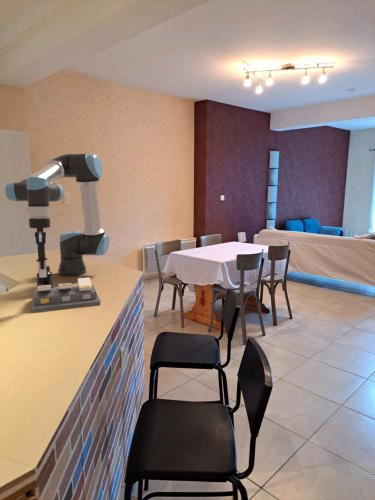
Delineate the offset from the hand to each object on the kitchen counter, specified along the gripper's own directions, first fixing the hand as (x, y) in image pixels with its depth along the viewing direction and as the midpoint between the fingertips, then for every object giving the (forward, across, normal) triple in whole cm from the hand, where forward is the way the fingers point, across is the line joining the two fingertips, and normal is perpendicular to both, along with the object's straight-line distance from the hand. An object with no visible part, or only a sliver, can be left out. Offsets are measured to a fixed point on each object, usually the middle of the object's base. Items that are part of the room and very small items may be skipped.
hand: (43, 276), depth 139 cm
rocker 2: (+5, -3, +8) cm, 10 cm away
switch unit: (+12, -2, +8) cm, 15 cm away
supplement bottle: (+12, -21, 0) cm, 24 cm away
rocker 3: (+5, -3, +16) cm, 17 cm away
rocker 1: (+5, -3, 0) cm, 6 cm away
